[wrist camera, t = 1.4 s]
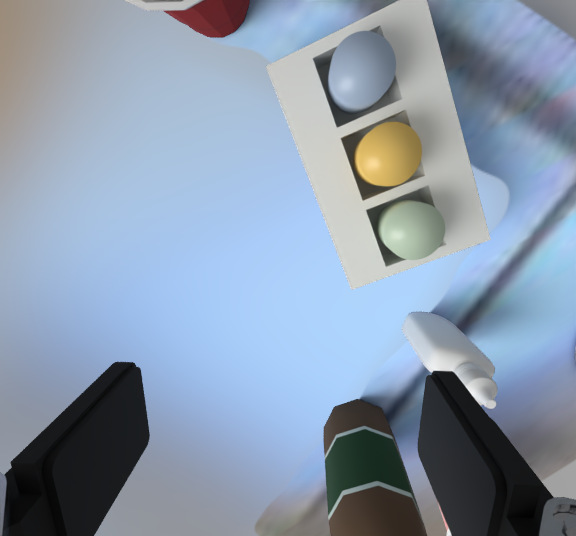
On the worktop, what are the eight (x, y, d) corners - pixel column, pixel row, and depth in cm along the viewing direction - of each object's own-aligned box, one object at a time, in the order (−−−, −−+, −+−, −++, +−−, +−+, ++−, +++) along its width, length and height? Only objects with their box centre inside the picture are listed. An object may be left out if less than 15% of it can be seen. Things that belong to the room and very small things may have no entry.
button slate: (373, 40, 25) (384, 18, 21) (391, 99, 25) (404, 87, 22) (319, 66, 25) (320, 49, 22) (338, 123, 26) (343, 114, 23)
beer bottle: (392, 397, 36) (543, 780, 13) (388, 454, 38) (513, 873, 15) (322, 396, 37) (349, 764, 14) (322, 452, 39) (345, 855, 16)
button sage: (419, 191, 27) (435, 192, 24) (434, 239, 28) (452, 247, 25) (369, 211, 28) (377, 215, 24) (385, 257, 29) (395, 268, 25)
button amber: (397, 119, 26) (411, 110, 22) (414, 172, 27) (429, 172, 23) (345, 142, 26) (350, 137, 23) (363, 193, 27) (371, 195, 24)
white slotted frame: (405, 19, 27) (423, -12, 22) (465, 231, 31) (490, 239, 27) (272, 83, 29) (265, 66, 24) (345, 275, 33) (351, 289, 28)
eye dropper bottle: (427, 358, 35) (487, 447, 23) (394, 322, 34) (439, 395, 22) (462, 333, 34) (542, 413, 22) (428, 295, 33) (494, 358, 21)
